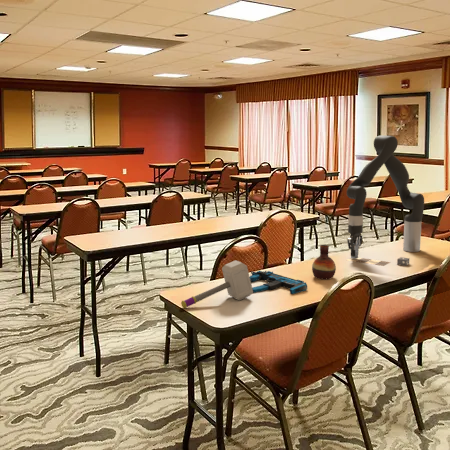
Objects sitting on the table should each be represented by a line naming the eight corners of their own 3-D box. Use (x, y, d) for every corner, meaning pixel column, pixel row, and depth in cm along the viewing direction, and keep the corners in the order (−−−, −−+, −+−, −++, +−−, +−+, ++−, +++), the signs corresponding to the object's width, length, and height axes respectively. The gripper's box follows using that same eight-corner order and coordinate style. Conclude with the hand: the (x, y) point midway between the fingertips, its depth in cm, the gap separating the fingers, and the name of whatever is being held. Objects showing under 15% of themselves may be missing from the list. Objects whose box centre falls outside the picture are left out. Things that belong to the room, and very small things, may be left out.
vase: (335, 274, 259) (336, 243, 257) (335, 281, 249) (336, 248, 246) (312, 273, 262) (313, 243, 259) (311, 280, 251) (311, 247, 248)
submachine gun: (221, 277, 248) (261, 265, 263) (222, 284, 249) (261, 273, 264) (272, 294, 222) (313, 280, 237) (273, 302, 223) (314, 288, 238)
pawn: (352, 256, 287) (353, 239, 285) (359, 257, 284) (359, 239, 283) (349, 257, 284) (350, 240, 282) (356, 258, 282) (356, 241, 280)
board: (353, 259, 290) (353, 256, 290) (391, 264, 277) (391, 262, 277) (345, 262, 282) (345, 260, 282) (383, 268, 270) (383, 266, 269)
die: (400, 265, 275) (400, 257, 275) (409, 267, 273) (409, 258, 272) (397, 267, 272) (397, 258, 271) (405, 268, 269) (406, 260, 268)
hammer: (181, 290, 207) (246, 262, 219) (173, 285, 214) (236, 258, 226) (191, 324, 211) (253, 295, 224) (183, 319, 218) (244, 290, 230)
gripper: (354, 221, 289) (353, 252, 292) (342, 224, 278) (341, 257, 281) (367, 222, 284) (366, 254, 287) (356, 226, 273) (355, 259, 276)
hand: (354, 255), depth 284 cm, fingers closed on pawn, 3 cm apart
